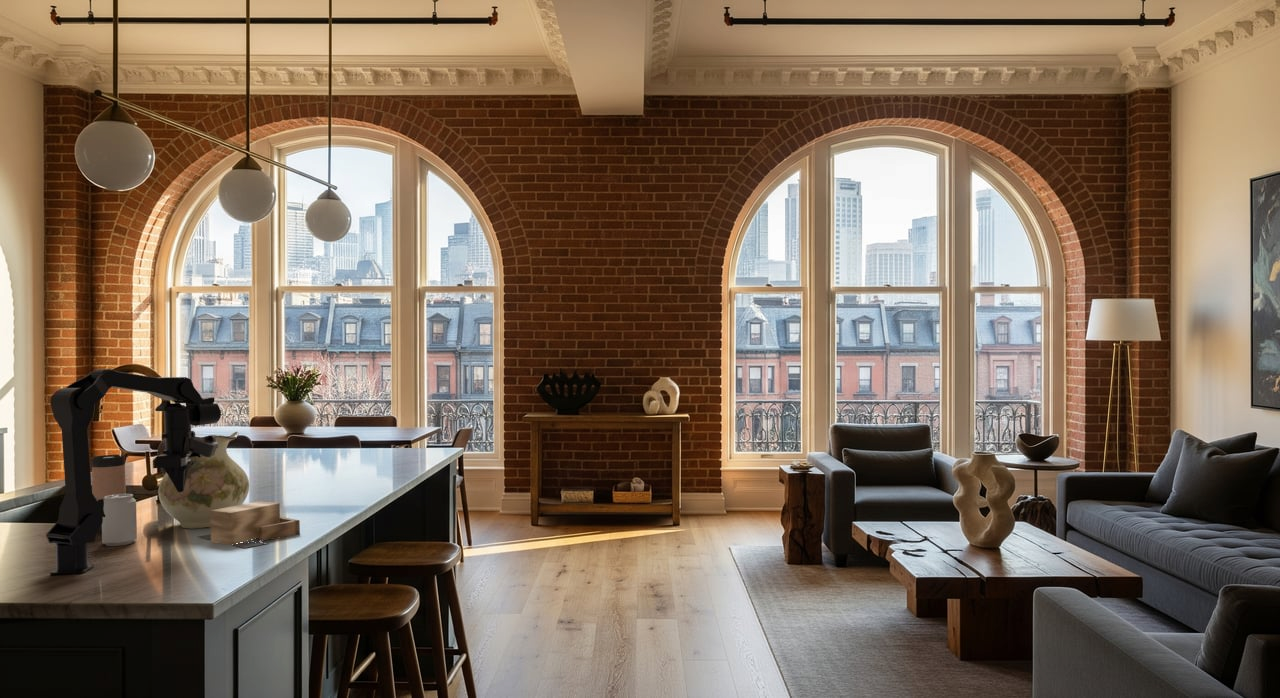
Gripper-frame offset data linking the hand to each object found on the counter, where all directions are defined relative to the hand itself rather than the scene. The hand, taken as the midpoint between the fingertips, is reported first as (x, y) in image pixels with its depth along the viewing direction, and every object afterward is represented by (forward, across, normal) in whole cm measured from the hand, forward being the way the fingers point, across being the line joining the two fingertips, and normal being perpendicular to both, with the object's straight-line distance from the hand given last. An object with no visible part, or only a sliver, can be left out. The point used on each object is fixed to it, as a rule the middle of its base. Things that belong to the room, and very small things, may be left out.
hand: (180, 491), depth 215 cm
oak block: (+14, +4, -14) cm, 20 cm away
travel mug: (+13, +23, +25) cm, 36 cm away
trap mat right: (+13, -5, -17) cm, 22 cm away
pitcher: (+14, +26, +3) cm, 30 cm away
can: (+13, +6, +16) cm, 22 cm away
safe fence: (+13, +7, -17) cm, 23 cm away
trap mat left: (+13, +8, -5) cm, 16 cm away
